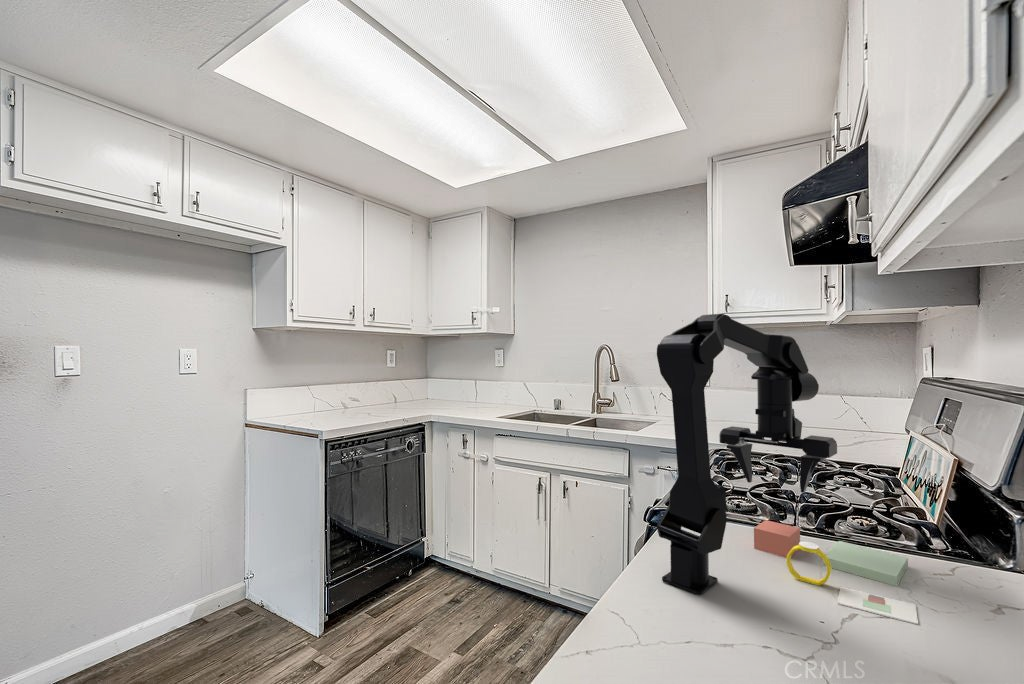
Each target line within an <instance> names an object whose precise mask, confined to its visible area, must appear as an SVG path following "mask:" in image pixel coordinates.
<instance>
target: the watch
mask: <svg viewBox="0 0 1024 684" xmlns="http://www.w3.org/2000/svg"><path fill="white" fill-rule="evenodd" d="M819 548H820V546H819V545H817V544H816V543H813V542H810V541H800V542H799V545H797V546H794V547H793V548H792V549H791V550H790V552H789V553H788V555H787V558H786V566H787V568H788V571H789V572H790V574H791V575H792V576H793V577H794V578H795V579H796V580H797V581H800V582H804V583H808V584H811V585H815V586H818V587H819V586H821V585H824V584H825V583H826V582H828V580H829V579H830V576H831V573H832V568H831V563H830V561H829V560H828V558H827V556H826V555H825V554H826V553H825V552H824V551H822V550H821V549H819ZM796 550H798V551H799V550H801V551H803V552H805V553H806V552H807V553H812V554H816V555H818V556H819V557H820V558H821V559H822V561H824V562H825V564H826V565H827V566H826V572H827V573H826V575H825V576H824V577H823V578H821V579H819V580H817V579H814V578H810V577H807V576H803V575H801V574H800V573H798V572H797V571H796V569H794V566H793V563H792V561H791V560H792V557H791V554H792V553H793V552H794V551H796Z"/></svg>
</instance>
